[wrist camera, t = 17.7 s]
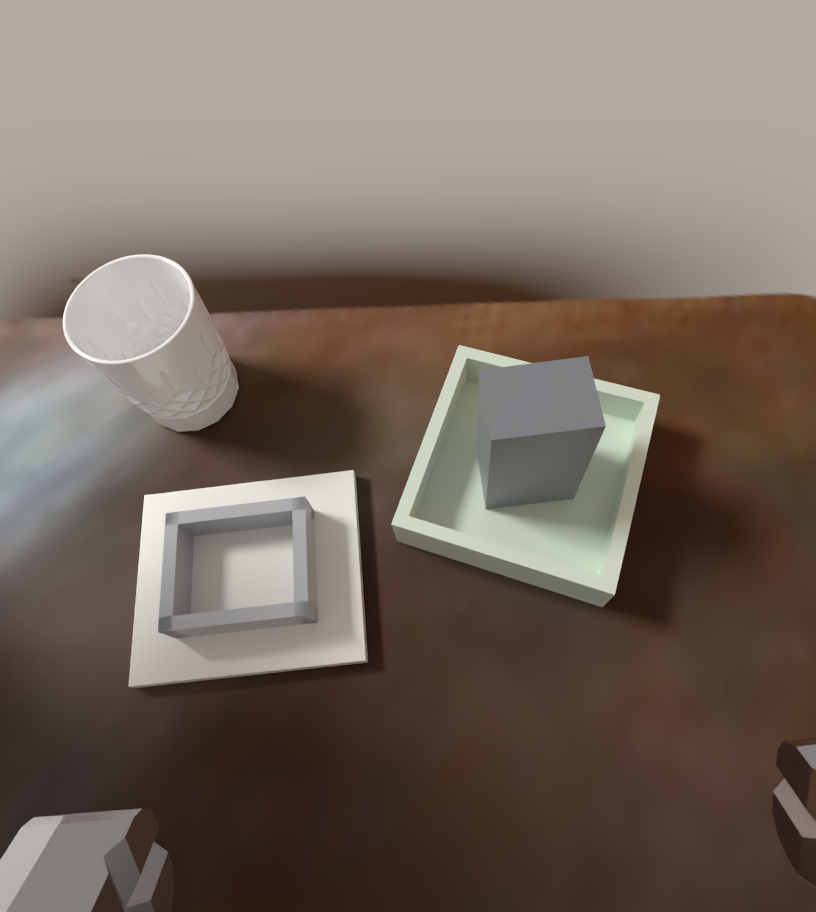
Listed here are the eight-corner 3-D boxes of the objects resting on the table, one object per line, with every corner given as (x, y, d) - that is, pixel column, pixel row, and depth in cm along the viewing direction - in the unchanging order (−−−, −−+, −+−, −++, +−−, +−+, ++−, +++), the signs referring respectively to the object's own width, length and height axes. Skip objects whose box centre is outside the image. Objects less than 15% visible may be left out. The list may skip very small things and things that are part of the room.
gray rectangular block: (485, 509, 40) (491, 440, 31) (476, 448, 41) (478, 366, 32) (573, 498, 40) (605, 426, 30) (560, 438, 41) (587, 353, 32)
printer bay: (136, 687, 38) (106, 682, 35) (151, 500, 43) (126, 481, 40) (368, 662, 37) (359, 654, 34) (355, 475, 42) (346, 454, 39)
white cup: (227, 448, 44) (166, 372, 35) (125, 431, 45) (39, 354, 36) (260, 353, 47) (212, 260, 38) (163, 340, 48) (94, 247, 39)
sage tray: (397, 541, 40) (391, 524, 37) (459, 373, 45) (458, 345, 42) (602, 607, 38) (614, 594, 34) (645, 420, 42) (660, 394, 39)
